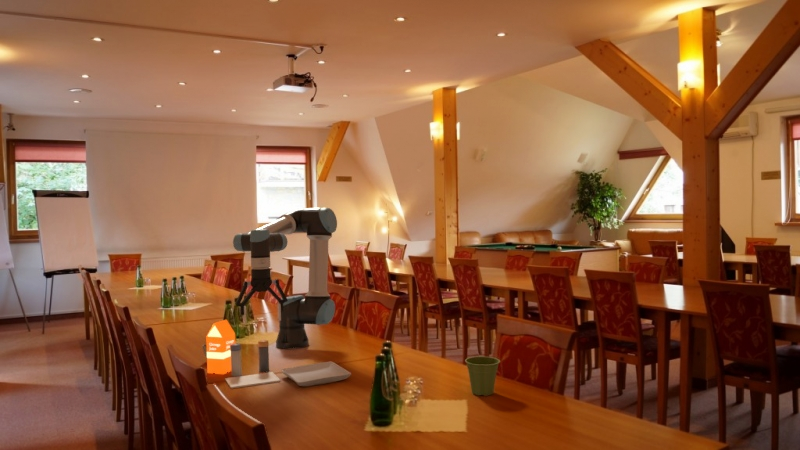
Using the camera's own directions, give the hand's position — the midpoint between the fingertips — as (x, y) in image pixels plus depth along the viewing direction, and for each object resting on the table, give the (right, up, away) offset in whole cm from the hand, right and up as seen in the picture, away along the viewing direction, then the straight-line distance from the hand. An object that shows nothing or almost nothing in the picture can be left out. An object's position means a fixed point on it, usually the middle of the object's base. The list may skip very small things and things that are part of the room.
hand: (262, 321), depth 248 cm
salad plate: (+23, -20, -12) cm, 33 cm away
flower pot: (-24, -20, +19) cm, 37 cm away
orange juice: (-17, -20, +3) cm, 27 cm away
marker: (+1, -20, +1) cm, 20 cm away
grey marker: (-9, -20, -5) cm, 23 cm away
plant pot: (+83, -19, -35) cm, 92 cm away
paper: (-1, -20, -13) cm, 24 cm away
